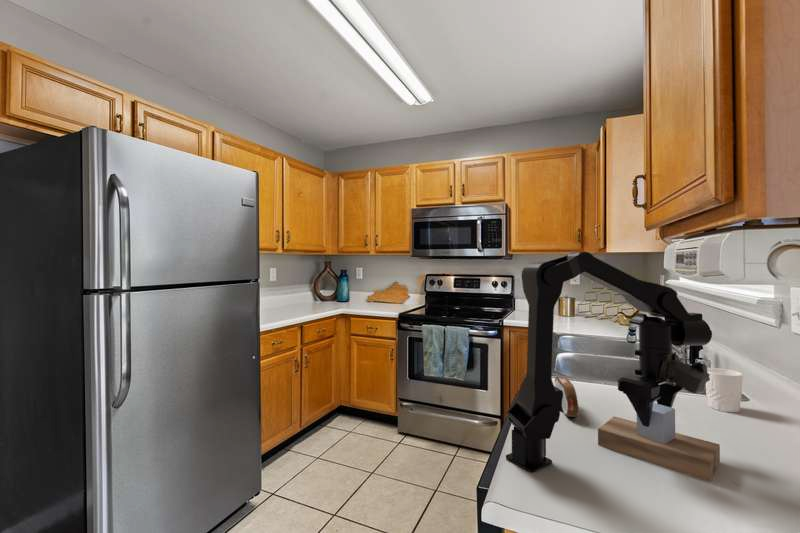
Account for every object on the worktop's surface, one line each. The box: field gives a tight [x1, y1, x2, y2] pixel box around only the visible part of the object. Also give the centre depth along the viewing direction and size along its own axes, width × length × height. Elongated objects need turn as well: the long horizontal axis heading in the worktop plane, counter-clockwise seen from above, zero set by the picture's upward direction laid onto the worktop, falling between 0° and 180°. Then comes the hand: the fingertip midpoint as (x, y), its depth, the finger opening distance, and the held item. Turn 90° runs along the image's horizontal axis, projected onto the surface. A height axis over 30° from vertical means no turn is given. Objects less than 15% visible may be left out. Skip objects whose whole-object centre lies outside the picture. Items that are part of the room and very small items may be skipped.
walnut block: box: [597, 415, 721, 483], centre depth 77 cm, size 10×19×4 cm, turn 42°
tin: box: [554, 375, 579, 418], centre depth 100 cm, size 15×3×8 cm, turn 168°
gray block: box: [636, 402, 676, 444], centre depth 77 cm, size 5×5×6 cm
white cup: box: [705, 367, 744, 414], centre depth 102 cm, size 8×8×10 cm
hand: (655, 421), depth 77 cm, fingers open, 8 cm apart
